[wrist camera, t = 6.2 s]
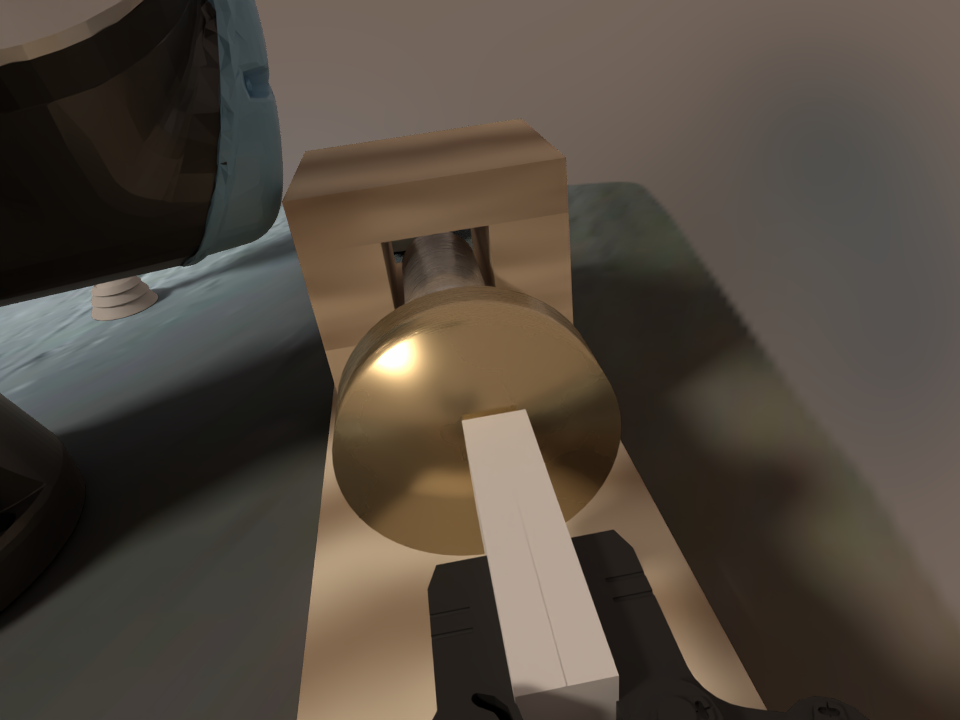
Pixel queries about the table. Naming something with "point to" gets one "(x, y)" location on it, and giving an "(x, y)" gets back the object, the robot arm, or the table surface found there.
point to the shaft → (463, 400)
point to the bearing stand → (363, 303)
